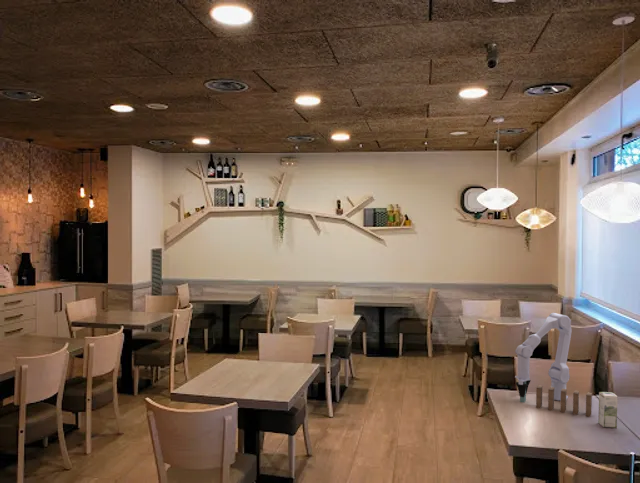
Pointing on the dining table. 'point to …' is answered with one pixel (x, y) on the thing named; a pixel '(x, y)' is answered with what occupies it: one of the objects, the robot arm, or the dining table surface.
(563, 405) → the domino
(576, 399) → the domino
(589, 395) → the domino
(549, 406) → the domino
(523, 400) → the domino
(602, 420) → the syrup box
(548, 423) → the dining table surface
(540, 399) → the domino
